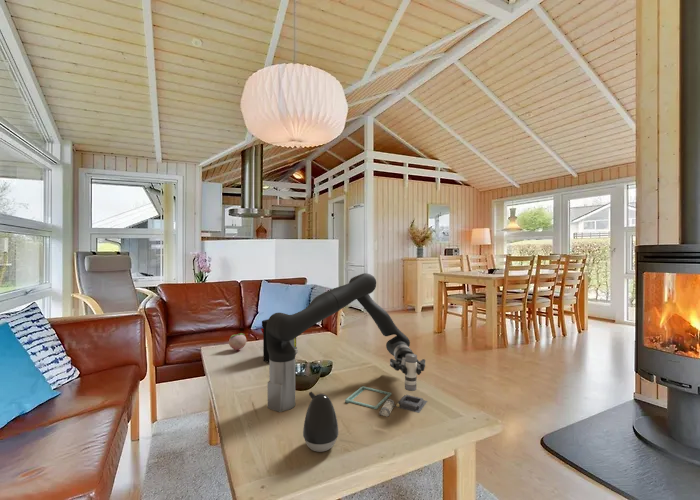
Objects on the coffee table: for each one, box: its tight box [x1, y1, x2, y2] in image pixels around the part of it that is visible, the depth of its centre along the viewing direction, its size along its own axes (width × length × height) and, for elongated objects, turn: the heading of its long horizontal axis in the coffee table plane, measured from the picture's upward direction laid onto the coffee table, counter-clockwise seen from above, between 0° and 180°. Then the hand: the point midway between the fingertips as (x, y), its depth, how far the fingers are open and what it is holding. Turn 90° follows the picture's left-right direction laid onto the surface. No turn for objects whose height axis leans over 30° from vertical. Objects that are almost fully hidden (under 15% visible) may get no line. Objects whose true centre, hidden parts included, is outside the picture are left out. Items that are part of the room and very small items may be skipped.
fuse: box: [378, 398, 396, 417], centre depth 119 cm, size 8×3×3 cm, turn 159°
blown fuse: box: [404, 353, 418, 392], centre depth 124 cm, size 4×4×12 cm
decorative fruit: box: [228, 332, 247, 351], centre depth 187 cm, size 9×8×10 cm
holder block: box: [394, 393, 428, 414], centre depth 124 cm, size 10×9×2 cm
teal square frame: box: [344, 386, 392, 410], centre depth 129 cm, size 14×13×2 cm
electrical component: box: [260, 318, 299, 363], centre depth 177 cm, size 18×10×20 cm, turn 148°
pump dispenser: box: [302, 391, 339, 453], centre depth 100 cm, size 10×10×15 cm
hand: (412, 371), depth 121 cm, fingers closed on blown fuse, 4 cm apart
